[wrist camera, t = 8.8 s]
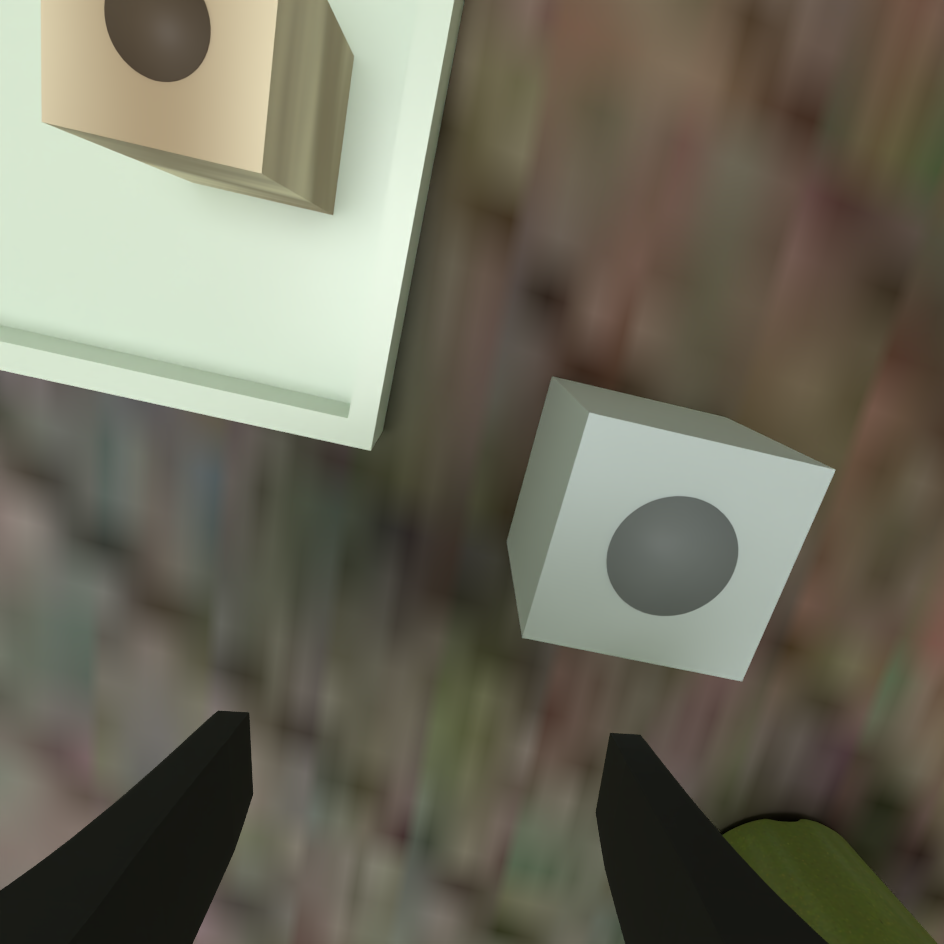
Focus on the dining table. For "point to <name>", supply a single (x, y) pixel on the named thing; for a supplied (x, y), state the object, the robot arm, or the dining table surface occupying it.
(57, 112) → the small block
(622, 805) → the robot arm
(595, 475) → the large block
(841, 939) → the plant pot
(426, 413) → the dining table surface
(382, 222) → the tray
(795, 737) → the dining table surface
